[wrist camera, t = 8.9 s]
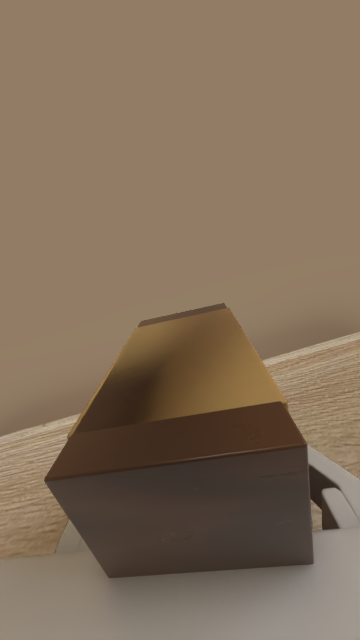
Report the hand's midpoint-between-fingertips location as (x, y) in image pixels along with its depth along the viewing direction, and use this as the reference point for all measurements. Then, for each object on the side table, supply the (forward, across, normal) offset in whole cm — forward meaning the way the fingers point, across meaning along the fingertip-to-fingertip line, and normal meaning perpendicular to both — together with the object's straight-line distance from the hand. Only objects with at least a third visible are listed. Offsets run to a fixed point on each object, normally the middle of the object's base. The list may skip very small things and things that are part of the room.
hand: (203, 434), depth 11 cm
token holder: (-1, 0, +6) cm, 7 cm away
